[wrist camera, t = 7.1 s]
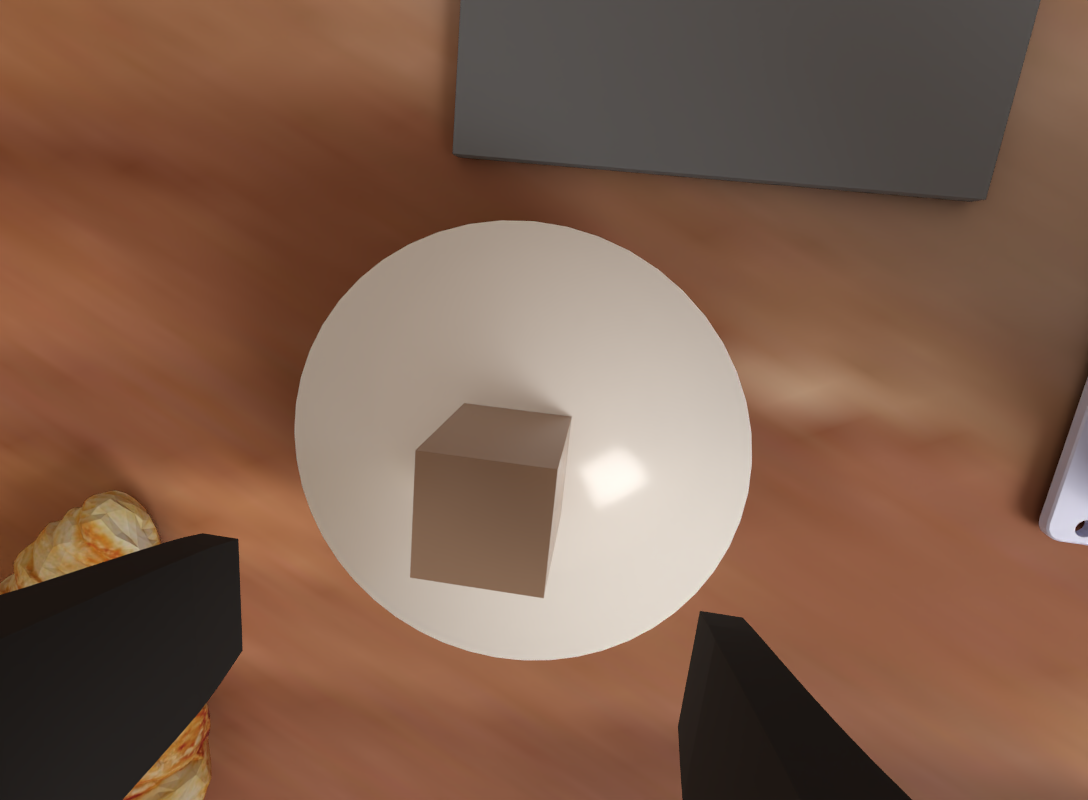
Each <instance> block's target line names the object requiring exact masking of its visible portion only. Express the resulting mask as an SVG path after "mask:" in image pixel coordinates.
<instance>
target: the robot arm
mask: <svg viewBox="0 0 1088 800" xmlns="http://www.w3.org/2000/svg"><path fill="white" fill-rule="evenodd" d="M1082 521H1085V524H1084V526H1083V527H1082V528H1081V529H1079V530H1077V531H1075V527H1076V526H1077V525H1078V523H1080V522H1082ZM1039 527H1040V529H1041V531H1042V532H1043V533H1045V534H1046V535H1047V536H1049V537H1050V538H1052V539H1054V540H1057V541H1061V542H1068V543H1075V544H1083V545H1088V378H1087V381H1086V384H1085V387H1084V389H1083V392H1082V395H1081V398H1080V401H1079V404H1078V407H1077V410H1076V413H1075V416H1074V419H1073V422H1072V425H1071V427H1070V430H1069V433H1068V436H1067V439H1066V442H1065V445H1064V448H1063V451H1062V454H1061V457H1060V460H1059V463H1058V466H1057V468H1056V471H1055V474H1054V477H1053V480H1052V483H1051V486H1050V489H1049V492H1048V495H1047V498H1046V501H1045V504H1044V506H1043V509H1042V512H1041V515H1040V518H1039ZM241 652H242V625H241V599H240V573H239V547H238V539H235V538H229V537H222V536H216V535H209V534H203V533H202V534H197V535H193V536H188V537H184V538H180V539H176V540H173V541H169V542H166V543H162V544H159V545H155V546H152V547H149V548H146V549H142V550H139V551H136V552H133V553H130V554H127V555H123V556H120V557H117V558H114V559H111V560H108V561H105V562H102V563H99V564H96V565H93V566H89V567H86V568H83V569H80V570H77V571H74V572H71V573H68V574H65V575H62V576H59V577H56V578H53V579H49V580H46V581H43V582H40V583H37V584H34V585H31V586H28V587H25V588H21V589H18V590H15V591H11V592H8V593H5V594H1V595H0V800H123V799H124V798H125V796H126V795H127V794H128V793H129V792H130V791H131V790H132V789H133V787H134V786H135V785H136V784H137V783H138V782H139V781H140V780H141V779H142V777H143V776H144V775H145V774H146V773H147V772H148V771H149V770H150V768H151V767H152V766H153V765H154V764H155V763H156V762H157V761H158V759H159V758H160V757H161V756H162V755H163V754H164V753H165V751H166V750H167V749H168V748H169V747H170V746H171V745H172V743H173V742H174V741H175V740H176V739H177V738H178V737H179V735H180V734H181V733H182V732H183V731H184V730H185V729H186V727H187V726H188V725H189V724H190V723H191V722H192V720H193V719H194V718H195V717H196V716H197V715H198V713H199V712H200V711H201V710H202V708H203V707H204V705H205V704H206V703H207V701H208V700H209V699H210V697H211V696H212V694H213V693H214V692H215V690H216V689H217V687H218V686H219V685H220V683H221V682H222V680H223V679H224V677H225V676H226V674H227V673H228V671H229V670H230V668H231V667H232V665H233V664H234V662H235V661H236V659H237V658H238V656H239V655H240V653H241ZM678 734H679V752H680V770H681V784H682V798H683V800H912V799H911V798H910V797H909V796H908V795H907V794H906V793H905V792H904V791H903V790H902V789H901V788H900V787H899V786H898V785H897V784H896V783H895V782H894V781H893V780H892V779H890V778H889V777H888V776H887V775H886V774H885V773H884V772H883V771H882V770H881V769H880V768H879V767H878V766H877V765H876V764H875V763H874V762H873V761H872V760H871V759H870V758H869V757H868V755H867V754H866V753H865V752H864V751H863V750H862V749H861V748H860V747H859V746H858V745H857V744H856V743H855V742H854V741H853V740H852V739H851V738H850V737H849V736H848V735H847V734H846V733H845V731H844V730H843V729H842V728H841V727H840V726H839V725H838V724H837V723H836V722H835V721H834V720H833V719H832V717H831V716H830V715H829V714H828V713H827V712H826V711H825V710H824V709H823V708H822V707H821V705H820V704H819V703H818V702H817V701H816V700H815V699H814V698H813V697H812V695H811V694H810V693H809V692H808V691H807V690H806V689H805V688H804V687H803V685H802V684H801V683H800V682H799V681H798V680H797V679H796V677H795V676H794V675H793V674H792V673H791V672H790V671H789V669H788V668H787V667H786V666H785V665H784V664H783V663H782V661H781V660H780V659H779V658H778V657H777V656H776V655H775V653H774V652H773V651H772V650H771V649H770V648H769V647H768V645H767V644H766V643H765V642H764V641H763V640H762V638H761V637H760V636H759V635H758V634H757V633H756V632H755V631H754V629H753V628H752V627H751V626H750V625H749V624H748V623H747V622H746V621H745V620H744V619H743V618H742V617H735V616H729V615H722V614H716V613H709V612H703V611H700V614H699V619H698V624H697V630H696V635H695V640H694V645H693V651H692V656H691V661H690V666H689V672H688V677H687V682H686V687H685V693H684V698H683V703H682V708H681V714H680V719H679V724H678Z"/></svg>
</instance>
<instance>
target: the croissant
mask: <svg viewBox="0 0 1088 800" xmlns="http://www.w3.org/2000/svg"><path fill="white" fill-rule="evenodd" d="M159 544H161V542H160V538H159V534H158V532H157V530H156V527H155V526H154V524H153V522H152V520H151V518H150V516H149V515H148V514H147V510H146V509H145V508H144V507H143V506H142V505H141V504H140V503H139V502H138V501H137V500H136V499H134V498H133V497H131V496H129V495H128V494H126V493H124V492H120V491H116V490H113V491H109V492H104V493H100V494H96V495H92V496H91V497H89V498H88V499H86V500H85V502H84V503H83V505H82V507H81V508H77V507H75V508H73V509H71V510H68V512H67V513H66V514H65V516H64V517H63V519H62V520H60V521H56V522H51V523H48V525H47V526H46V527H45V528H44V529H43V530H42V532H41V533H40V534H39V536H38V537H37V539H36V540H35V541H34V542H33V543H31V544H30V545H29V546H27V547H26V548H25V549H24V550H22V551H21V552H20V553H19V554H18V556H17V558H16V560H15V562H14V574H13V575H11V576H9V577H7V578H6V579H4V580H3V581H2V582H1V583H0V595H1V594H5V593H8V592H11V591H15V590H18V589H21V588H25V587H28V586H31V585H34V584H37V583H40V582H43V581H46V580H49V579H53V578H56V577H59V576H62V575H65V574H68V573H71V572H74V571H77V570H80V569H83V568H86V567H89V566H93V565H96V564H99V563H102V562H105V561H108V560H111V559H114V558H117V557H120V556H123V555H127V554H130V553H133V552H136V551H139V550H142V549H146V548H149V547H152V546H155V545H159ZM210 726H211V725H210V714H209V709H208V706H207V703H206V704H205V705H204V707H203V708H202V710H201V711H200V712H199V713H198V715H197V716H196V717H195V718H194V719H193V720H192V722H191V723H190V724H189V725H188V726H187V727H186V729H185V730H184V731H183V732H182V733H181V734H180V735H179V737H178V738H177V739H176V740H175V741H174V742H173V743H172V745H171V746H170V747H169V748H168V749H167V750H166V751H165V753H164V754H163V755H162V756H161V757H160V758H159V759H158V761H157V762H156V763H155V764H154V765H153V766H152V767H151V768H150V770H149V771H148V772H147V773H146V774H145V775H144V776H143V777H142V779H141V780H140V781H139V782H138V783H137V784H136V785H135V786H134V787H133V789H132V790H131V791H130V792H129V793H128V794H127V795H126V796H125V798H124V799H123V800H204V798H205V795H206V791H207V788H208V785H209V782H210V780H211V758H210V751H209V743H208V735H209V731H210Z"/></svg>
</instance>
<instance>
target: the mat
mask: <svg viewBox="0 0 1088 800" xmlns="http://www.w3.org/2000/svg"><path fill="white" fill-rule="evenodd" d="M1039 4H1040V0H461V5H460V24H459V42H458V61H457V80H456V99H455V118H454V137H453V154H454V155H456V156H457V157H461V158H473V159H485V160H496V161H508V162H519V163H531V164H542V165H554V166H566V167H577V168H589V169H600V170H612V171H623V172H635V173H647V174H658V175H670V176H681V177H693V178H705V179H716V180H728V181H739V182H751V183H762V184H774V185H786V186H797V187H809V188H820V189H832V190H843V191H855V192H867V193H878V194H890V195H901V196H913V197H925V198H936V199H948V200H959V201H971V202H972V201H979V200H985V199H986V197H987V193H988V190H989V186H990V182H991V179H992V175H993V172H994V168H995V164H996V161H997V157H998V153H999V150H1000V146H1001V142H1002V139H1003V135H1004V131H1005V128H1006V124H1007V121H1008V117H1009V113H1010V110H1011V106H1012V102H1013V99H1014V95H1015V91H1016V88H1017V84H1018V80H1019V77H1020V73H1021V70H1022V66H1023V62H1024V59H1025V55H1026V51H1027V48H1028V44H1029V40H1030V37H1031V33H1032V29H1033V26H1034V22H1035V19H1036V15H1037V11H1038V8H1039Z"/></svg>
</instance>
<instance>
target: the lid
mask: <svg viewBox="0 0 1088 800" xmlns="http://www.w3.org/2000/svg"><path fill="white" fill-rule="evenodd" d="M294 433H295V446H296V458H297V464H298V469H299V473H300V478H301V483H302V487H303V490H304V493H305V496H306V499H307V502H308V505H309V508H310V511H311V513H312V515H313V517H314V519H315V521H316V523H317V526H318V528H319V530H320V532H321V534H322V536H323V538H324V539H325V541H326V542H327V544H328V545H329V547H330V549H331V550H332V552H333V553H334V555H335V556H336V558H337V560H338V561H339V562H340V563H341V564H342V566H343V567H344V568H345V569H346V571H347V572H348V573H349V574H350V576H351V577H352V578H353V579H354V580H355V581H356V582H357V583H358V584H359V585H360V586H361V587H362V588H363V589H364V590H365V591H366V592H367V593H368V594H369V595H370V596H371V597H372V598H373V599H374V600H375V601H376V602H378V603H379V604H380V605H382V606H383V607H384V608H385V609H387V610H388V611H389V612H390V613H392V614H393V615H394V616H396V617H397V618H399V619H400V620H402V621H404V622H405V623H407V624H409V625H410V626H412V627H413V628H415V629H417V630H418V631H420V632H422V633H425V634H427V635H429V636H431V637H433V638H435V639H437V640H439V641H441V642H444V643H446V644H449V645H452V646H455V647H458V648H461V649H464V650H467V651H470V652H475V653H479V654H483V655H488V656H492V657H498V658H507V659H516V660H554V659H563V658H571V657H578V656H582V655H586V654H590V653H594V652H598V651H602V650H605V649H608V648H611V647H613V646H616V645H619V644H621V643H624V642H627V641H629V640H631V639H633V638H635V637H637V636H639V635H641V634H642V633H644V632H646V631H648V630H650V629H652V628H654V627H655V626H656V625H658V624H659V623H661V622H662V621H664V620H665V619H666V618H668V617H669V616H671V615H672V614H673V613H675V612H676V611H677V610H678V609H679V608H680V607H682V606H683V605H684V604H685V603H686V602H687V601H688V600H689V599H690V598H691V597H692V596H693V595H695V594H696V593H697V591H698V590H699V589H700V588H701V587H702V585H703V584H704V583H705V582H706V580H707V579H708V578H709V577H710V576H711V574H712V573H713V572H714V571H715V569H716V567H717V566H718V564H719V562H720V561H721V559H722V558H723V556H724V554H725V553H726V551H727V549H728V548H729V546H730V543H731V541H732V539H733V537H734V534H735V532H736V530H737V527H738V525H739V523H740V520H741V517H742V513H743V509H744V506H745V502H746V499H747V495H748V490H749V482H750V474H751V466H752V442H751V428H750V421H749V415H748V409H747V403H746V399H745V396H744V393H743V390H742V387H741V383H740V380H739V377H738V374H737V371H736V369H735V367H734V365H733V363H732V361H731V358H730V356H729V354H728V352H727V350H726V348H725V346H724V344H723V342H722V341H721V339H720V338H719V336H718V335H717V333H716V331H715V330H714V328H713V327H712V325H711V324H710V322H709V321H708V319H707V318H706V316H705V315H704V314H703V313H702V312H701V311H700V309H699V308H698V307H697V306H696V305H695V304H694V303H693V301H692V300H691V299H690V298H689V297H688V296H687V295H686V294H685V292H684V291H683V290H682V289H680V288H679V287H678V286H677V285H676V284H675V283H673V282H672V281H671V280H670V279H669V278H668V277H666V276H665V275H664V274H663V273H662V272H661V271H659V270H658V269H657V268H655V267H654V266H652V265H651V264H649V263H648V262H646V261H645V260H643V259H641V258H640V257H638V256H637V255H635V254H634V253H632V252H631V251H629V250H627V249H625V248H622V247H620V246H618V245H616V244H614V243H612V242H610V241H607V240H605V239H603V238H601V237H599V236H595V235H592V234H589V233H586V232H583V231H579V230H576V229H573V228H570V227H566V226H560V225H554V224H548V223H542V222H536V221H506V220H500V221H491V222H483V223H474V224H467V225H463V226H460V227H456V228H452V229H448V230H444V231H440V232H437V233H435V234H432V235H430V236H427V237H425V238H423V239H420V240H418V241H415V242H413V243H411V244H408V245H407V246H405V247H403V248H402V249H400V250H398V251H397V252H395V253H393V254H392V255H390V256H388V257H387V258H385V259H383V260H382V261H381V262H379V263H378V264H377V265H376V266H375V267H373V268H372V269H371V270H370V271H368V272H367V273H366V274H365V275H363V276H362V277H361V278H360V279H359V280H358V281H357V282H356V283H355V284H354V285H353V286H352V287H351V288H350V289H349V291H348V292H347V293H346V294H345V295H344V296H343V297H342V298H341V299H340V300H339V302H338V303H337V305H336V306H335V307H334V309H333V310H332V312H331V313H330V315H329V316H328V318H327V319H326V320H325V322H324V323H323V325H322V327H321V329H320V331H319V333H318V335H317V337H316V339H315V341H314V343H313V345H312V347H311V349H310V352H309V355H308V358H307V360H306V363H305V366H304V369H303V372H302V375H301V380H300V385H299V390H298V396H297V401H296V412H295V430H294Z"/></svg>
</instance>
